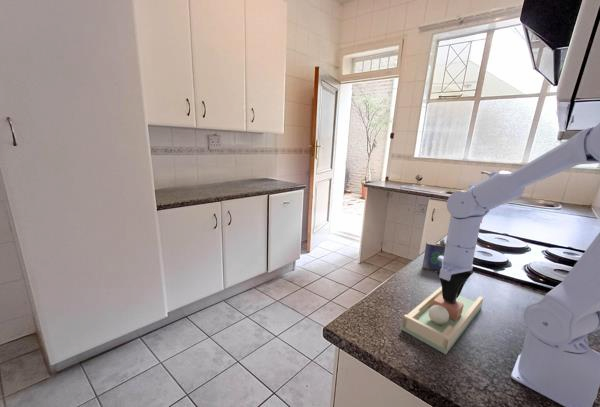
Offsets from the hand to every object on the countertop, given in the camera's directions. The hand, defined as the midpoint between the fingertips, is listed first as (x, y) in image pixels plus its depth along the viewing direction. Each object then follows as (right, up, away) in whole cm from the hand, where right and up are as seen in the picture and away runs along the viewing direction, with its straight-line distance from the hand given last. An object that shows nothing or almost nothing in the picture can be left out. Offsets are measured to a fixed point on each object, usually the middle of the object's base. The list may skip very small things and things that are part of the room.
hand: (450, 298), depth 62 cm
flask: (+10, 0, +24) cm, 26 cm away
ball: (-5, -2, -4) cm, 7 cm away
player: (-1, -3, 0) cm, 3 cm away
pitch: (-1, -5, 0) cm, 5 cm away
